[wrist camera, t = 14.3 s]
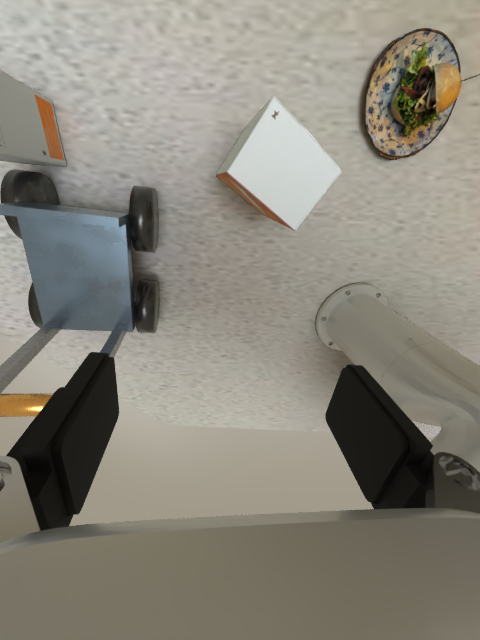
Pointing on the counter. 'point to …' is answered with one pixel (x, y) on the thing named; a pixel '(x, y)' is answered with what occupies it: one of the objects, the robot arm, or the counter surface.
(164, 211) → the counter surface
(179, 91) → the counter surface
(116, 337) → the trolley
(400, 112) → the burger
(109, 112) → the counter surface
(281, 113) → the small box
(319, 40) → the counter surface
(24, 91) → the skincare box
